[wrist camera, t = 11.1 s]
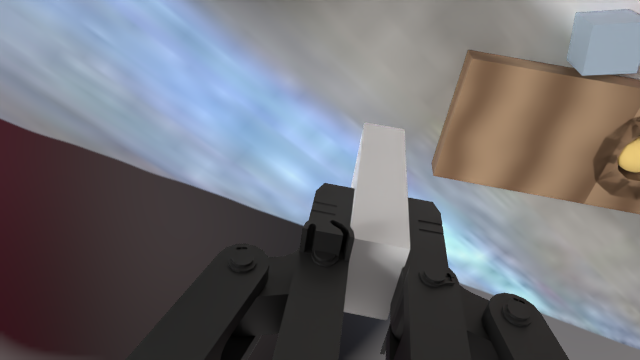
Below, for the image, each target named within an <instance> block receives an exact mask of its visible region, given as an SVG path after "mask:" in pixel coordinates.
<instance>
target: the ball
mask: <svg viewBox="0 0 640 360" xmlns="http://www.w3.org/2000/svg"><path fill="white" fill-rule="evenodd" d="M617 162H618V165H619V166H620V167H622V168H623V169H625V170H627V171H630V172H640V136H639V137H638V138H636V139H635V140H633V141H632V142H630V143H629V144H627V145H626V146H625V147H624V148H623V150H622V152H621V154H620V155H619V157H618V159H617Z"/></svg>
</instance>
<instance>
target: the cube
mask: <svg viewBox="0 0 640 360" xmlns="http://www.w3.org/2000/svg"><path fill="white" fill-rule="evenodd" d="M567 61H568V62H569V63H570V64H571V65H572V66H573V67H574V68H575V69H576V70H577V71H578V72H579V73H580V74H581V75H582V76H586V75H608V74H630V73H637V71H638V67H639V64H640V15H639V14H637V13H635V12H633V11H632V10H630V9H623V10H608V11H593V12H578V13H576V15H575V20H574V25H573V30H572V35H571V40H570V45H569V51H568V56H567Z"/></svg>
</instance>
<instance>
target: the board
mask: <svg viewBox="0 0 640 360" xmlns="http://www.w3.org/2000/svg"><path fill="white" fill-rule="evenodd" d="M639 136H640V80H638V79H632V78H626V77H621V76H615V75H609V74H608V75H586V76H582V75H581V74H580V73H579V72H578V71H577V70H576V69H575V68H569V67H564V66H558V65H552V64H546V63H541V62H535V61H529V60H524V59H518V58H512V57H506V56H501V55H495V54H489V53H484V52H478V51H472V50H468V52H467V55H466V58H465V61H464V64H463V67H462V70H461V74H460V77H459V80H458V83H457V86H456V89H455V92H454V95H453V98H452V101H451V105H450V108H449V111H448V114H447V117H446V120H445V123H444V126H443V129H442V132H441V136H440V139H439V142H438V145H437V148H436V151H435V154H434V157H433V160H432V169H433V176H438V177H443V178H448V179H454V180H459V181H464V182H470V183H475V184H481V185H486V186H491V187H497V188H502V189H507V190H513V191H518V192H523V193H529V194H534V195H540V196H545V197H550V198H556V199H561V200H566V201H572V202H577V203H582V204H588V205H593V206H599V207H604V208H609V209H615V210H620V211H625V212H631V213H636V214H640V172H630V171H627V170H625V169H623V168H622V167H620V166H618V162H617V159H618V157H619V155H620V154H621V152H622V150H623V148H624V147H625V146H626V145H627V144H629V143H630V142H632V141H633V140H635V139H636V138H638V137H639Z"/></svg>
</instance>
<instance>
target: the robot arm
mask: <svg viewBox="0 0 640 360" xmlns="http://www.w3.org/2000/svg"><path fill="white" fill-rule="evenodd" d="M390 311H391V312H390ZM344 312H348V313H353V314H358V315H363V316H368V317H373V318H378V319H383V320H387V318H388V315H389V312H390V315H391V316H390V325H389V328H388V331H387V334H386V337H385V340H384V343H383V346H382V349H381V353H380V354H385V351H386V360H569V359H568V357H567V355H566V354H565V352H564V351H563V349H562V347H561V346H560V344H559V342H558V341H557V339H556V337H555V336H554V334H553V333H552V331H551V329H550V328H549V326H548V325H547V323H546V321H545V320H544V318H543V316H542V315H541V313H540V312H539V311H538V310H537V309H536V307H535V306H534V305H532V304H531V303H530V302H528V301H527V300H526V299H524V298H521V297H519V296H517V295H514V294H508V293H501V294H496V295H495V296H493V297H492V298H491V299H490V301H489V300H486V299H484V298H482V297H480V296H478V295H475V294H473V293H471V292H469V291H468V290H466V289H464V288H463V287H462V286H460V285H459V282H458V279H457V277H456V275H455V274H454V273H453V271H452V270H451V269H450V268H448V261H447V254H446V247H445V240H444V235H443V227H442V220H441V213H440V212H439V210H438V209H437V207H436V206H435V205H434V203H433V202H429V201H424V200H419V199H413V198H408V191H407V170H406V150H405V130H404V129H399V128H393V127H388V126H382V125H377V124H371V123H366V122H364V127H363V132H362V136H361V141H360V146H359V151H358V155H357V160H356V165H355V170H354V175H353V179H352V185H351V188H349V187H343V186H338V185H333V184H327V183H324V184H323V185H322V186H321V187H320V188H319V189H318V190H317V191H316V193H315V197H314V202H313V205H312V210H311V213H310V217H309V221H307V222H306V223H305V225H304V227H303V229H302V236H301V243H300V248H299V249H298V250H297V251H295V252H294V253H292V254H289V255H286V256H280V257H268V256H267V255H266V254H265V252H264V251H263V250H261V249H260V248H258V247H256V246H253V245H249V244H235V245H232V246H229V247H226V248H225V249H224V250H222V251H221V252H220V253H219V254H218V255H217V256H216V257H215V258H214V260H213V261H212V262H211V263H210V264H209V265H208V266H207V268H206V269H205V270H204V271H203V272H202V273H201V274H200V275H199V277H198V278H197V279H196V280H195V281H194V282H193V283H192V285H191V286H190V287H189V288H188V289H187V290H186V291H185V293H184V294H183V295H182V296H181V297H180V298H179V299H178V301H177V302H176V303H175V304H174V305H173V306H172V307H171V309H170V310H169V311H168V312H167V313H166V314H165V315H164V317H163V318H162V319H161V320H160V321H159V322H158V323H157V325H156V326H155V327H154V328H153V329H152V330H151V331H150V332H149V334H148V335H147V336H146V337H145V338H144V339H143V340H142V342H141V343H140V344H139V345H138V346H137V347H136V348H135V350H134V351H133V352H132V353H131V354H130V355H129V356H128V358H127V359H126V360H247V359H248V357H249V356H250V354H251V353H252V351H253V349H254V348H255V346H256V344H257V343H258V341H259V340H260V337H261V335H267V334H277V333H279V335H278V339H277V343H276V347H275V351H274V355H273V359H272V360H338V357H339V348H340V339H341V329H342V322H343V313H344Z"/></svg>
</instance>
